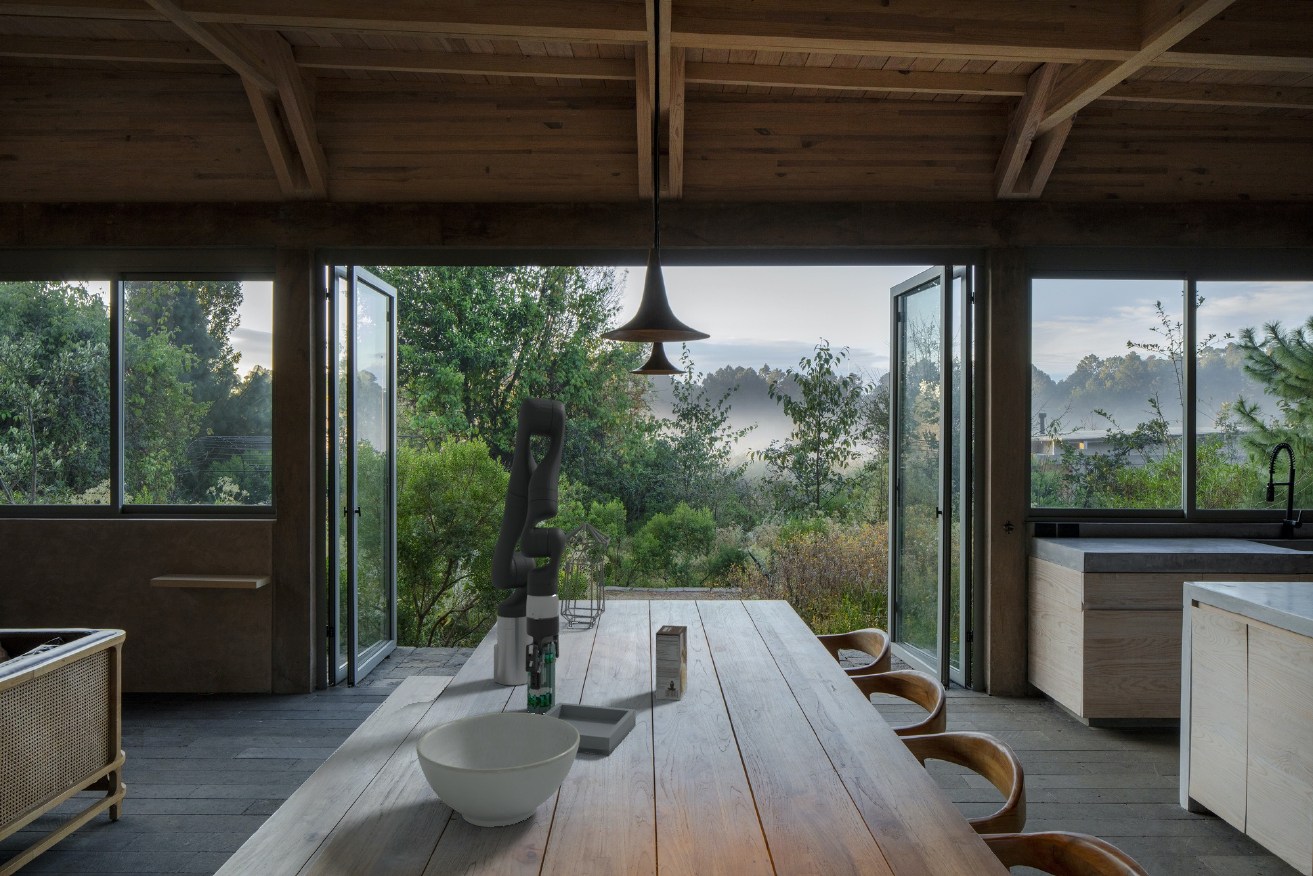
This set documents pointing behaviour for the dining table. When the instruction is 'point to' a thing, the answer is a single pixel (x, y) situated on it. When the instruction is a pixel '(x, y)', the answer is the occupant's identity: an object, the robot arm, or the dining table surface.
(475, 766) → the decorative bowl
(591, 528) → the geometric lantern
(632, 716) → the tray
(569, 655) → the dining table surface
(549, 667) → the can
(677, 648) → the coffee box
